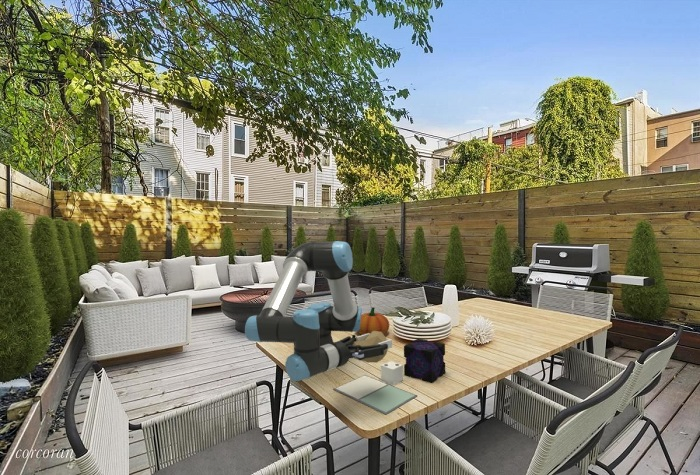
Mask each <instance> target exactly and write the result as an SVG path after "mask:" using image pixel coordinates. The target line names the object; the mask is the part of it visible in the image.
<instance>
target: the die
mask: <svg viewBox="0 0 700 475" xmlns="http://www.w3.org/2000/svg"><path fill="white" fill-rule="evenodd" d="M403 372H404V365H403V364H401V363H397V362H395V361H392V360H389V361H388V362H385V363H383V364H380V381H382V382H385V383H387V384H390V385H392V386H395V385H397V384H398V383H400V382H402V381H404V373H403Z"/></svg>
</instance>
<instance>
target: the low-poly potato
mask: <svg viewBox="0 0 700 475" xmlns="http://www.w3.org/2000/svg"><path fill="white" fill-rule="evenodd" d="M387 340H388V339H387V337H386V336H385V335H383V333H382V332H378V331H372V332H371V334H370V335H369V336H368V337H367V338H366V339H365V340H364V341H355V342H354V343H353V344H352V345H353V346H354V345H360V346H370V345H378V343H381V342H384V341H387ZM388 350H389V349H387V350H384V355H380V356H375V357H370V358H365V359H363V360H360V361H361V362H365V363H370V364H371V363H373V364H374V363H379V362H381V361H382V360H384V358H385V357H386V355H387V354H388ZM358 352H359V348H358ZM354 359H355V360H358V357H354V358H353V360H354ZM358 361H359V360H358Z"/></svg>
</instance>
